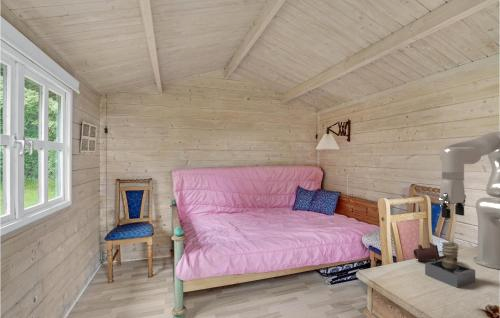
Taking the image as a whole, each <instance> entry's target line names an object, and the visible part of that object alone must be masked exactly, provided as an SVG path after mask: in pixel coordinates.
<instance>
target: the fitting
mask: <svg viewBox="0 0 500 318" xmlns="http://www.w3.org/2000/svg"><path fill="white" fill-rule="evenodd" d="M424 275H425V276H427V277H430V278H432V279H434V280H437V281H439V282H442V283H445V284H447V285H449V286H452V287H454V288H456V289H458V288H462V287H464V286H467V285H470V284H473V283H476V269H473V268H471V267H468V266H466V265H462V264H459V263H457V268H456V270H454V272H450V271H448V270H445V269H444V267H443V266H442V259H441V260H433V261H432V260H431V261H428V262H425V263H424Z"/></svg>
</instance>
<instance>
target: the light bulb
mask: <svg viewBox="0 0 500 318" xmlns="http://www.w3.org/2000/svg"><path fill="white" fill-rule="evenodd" d="M441 247H442V248H441V249H442V252H441V253H442V256H444V255H445V256H446V258H442V266H443V267H444V269H445V270H448V271H450V272H454V270H456V268H457V264H458V260H457V261H456V260H454V258H457V259H458V257H459V255H458V253H459V252H458V251H459V245H458V244H457V243H455V242H452V241H448V242H445V241H444V242H442V246H441Z"/></svg>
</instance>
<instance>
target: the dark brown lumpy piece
mask: <svg viewBox="0 0 500 318" xmlns="http://www.w3.org/2000/svg"><path fill="white" fill-rule="evenodd" d="M428 241H429V247H423V245H422V244H418V245H417V248H415V249H413V255H414V258H415V260H416V259H418V261H417V262H423V261H424V262H425V261H432V260H433V261H436V260H441V259H442V258H446V256H445V255H442V256H441V255H440V254H439V253H440V252H439V247H438V245H437V244H436V243H434V242H433V241H431V240H428ZM454 260H456V261H457V262H458V257H457V258H454Z"/></svg>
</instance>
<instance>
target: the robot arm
mask: <svg viewBox="0 0 500 318" xmlns="http://www.w3.org/2000/svg"><path fill="white" fill-rule="evenodd" d="M484 156H487V157H488V160H489V163H490V165H491V173H490V176H489V178H488V182H487V184H486V189H485V192H486V194H487V196H489V197H481V198H478V199H477V200H476V203H475V211H476V215H477V256H475V257H473V259H472V260H473V262H475V263H476V264H477V265H480V266H483V267H485V268H490V269H497V270H500V131H492V132H488V133H485V134H483V135H481V136H478V137H477V138H474V139H469V140H464V141H460V142H456V143H452V144H450V145H446V146H445V147H443V148H442V149H441V151H440V153H439V159H440V161H441V181H440V186H439V188H440V189H439V199H438V201H439V205H440V208H441V218H445V219H448V220H449V219H451V208H450V207H451V205H455V206H454V214H455V215H456V216H457V215H458V216H463V217H464V216H465V206H466V205H465V203H466V198H467V195H466V194H465V185H464V181H465V165H474V164H476V163H478V162H479V161H481V158H482V157H484Z"/></svg>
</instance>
